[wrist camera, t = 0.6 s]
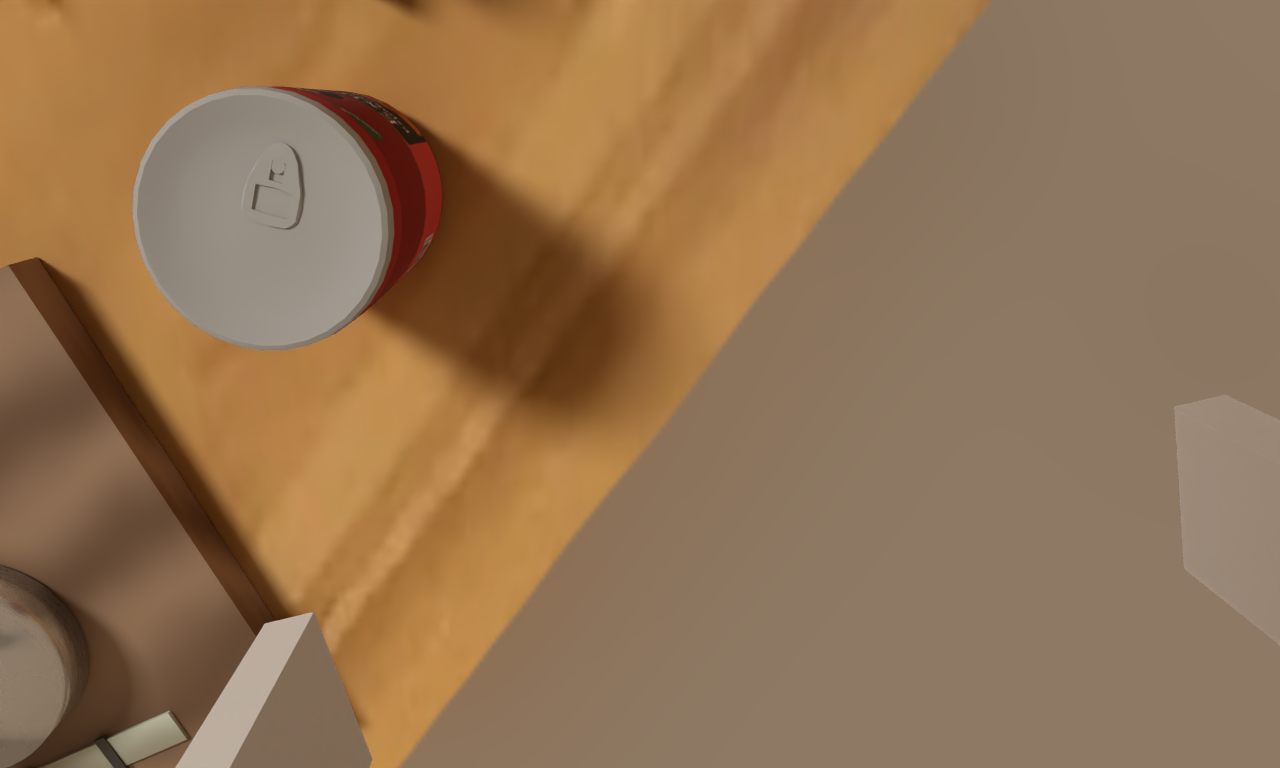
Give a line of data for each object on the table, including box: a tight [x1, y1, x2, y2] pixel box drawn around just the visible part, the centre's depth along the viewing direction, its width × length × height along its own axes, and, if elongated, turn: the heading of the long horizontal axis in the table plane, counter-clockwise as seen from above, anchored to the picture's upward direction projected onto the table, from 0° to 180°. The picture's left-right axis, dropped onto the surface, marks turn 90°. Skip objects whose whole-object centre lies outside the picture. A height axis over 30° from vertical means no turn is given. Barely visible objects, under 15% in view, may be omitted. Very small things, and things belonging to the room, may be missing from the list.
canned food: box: [133, 87, 442, 351], centre depth 33 cm, size 8×8×11 cm
